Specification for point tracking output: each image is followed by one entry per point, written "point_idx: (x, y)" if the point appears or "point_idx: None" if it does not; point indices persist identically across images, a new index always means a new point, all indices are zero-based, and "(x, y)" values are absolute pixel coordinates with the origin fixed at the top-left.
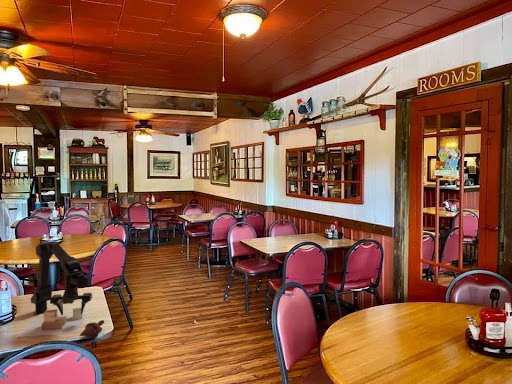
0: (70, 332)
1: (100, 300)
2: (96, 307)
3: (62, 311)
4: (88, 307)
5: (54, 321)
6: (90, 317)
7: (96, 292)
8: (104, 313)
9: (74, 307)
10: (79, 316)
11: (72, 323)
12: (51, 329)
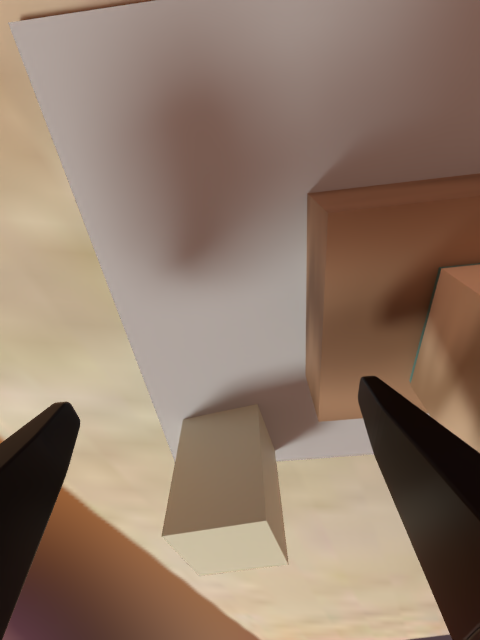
0: (117, 24)
1: (203, 588)
2: None
3: (386, 441)
4: None
5: (449, 268)
6: (136, 439)
7: (262, 628)
8: (69, 483)
9: (259, 540)
10: (203, 435)
11: (231, 336)
12: (437, 179)
